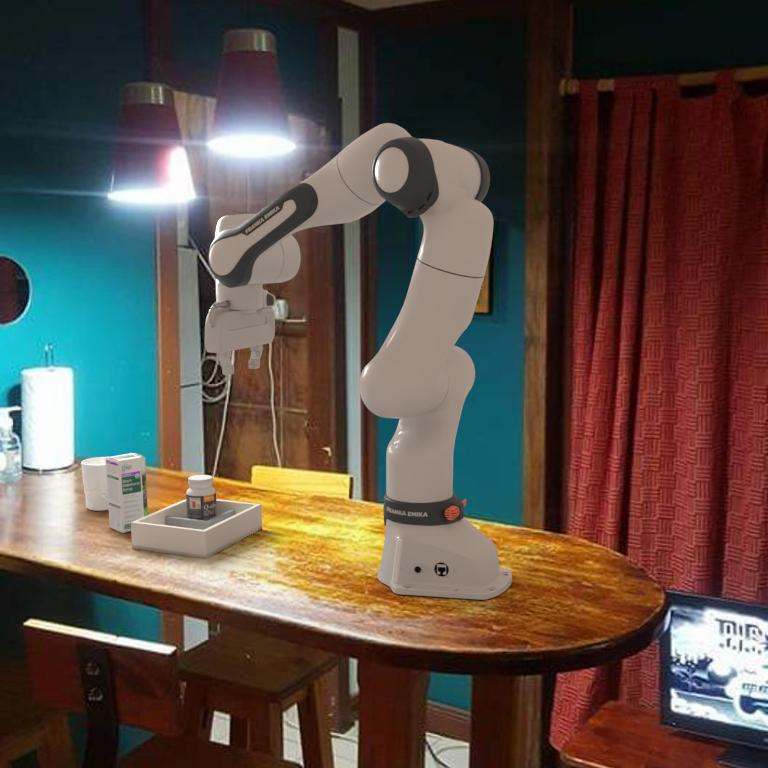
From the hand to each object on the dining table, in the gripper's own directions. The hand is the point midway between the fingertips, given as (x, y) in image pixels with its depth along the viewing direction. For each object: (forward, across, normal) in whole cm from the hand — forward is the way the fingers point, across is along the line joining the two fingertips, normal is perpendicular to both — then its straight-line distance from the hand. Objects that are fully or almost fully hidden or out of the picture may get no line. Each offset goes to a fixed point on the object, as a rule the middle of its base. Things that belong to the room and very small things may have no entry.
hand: (241, 371), depth 199 cm
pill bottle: (+31, -4, +8) cm, 32 cm away
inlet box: (+31, -9, +5) cm, 33 cm away
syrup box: (+31, -8, +22) cm, 39 cm away
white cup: (+31, +3, +37) cm, 49 cm away
